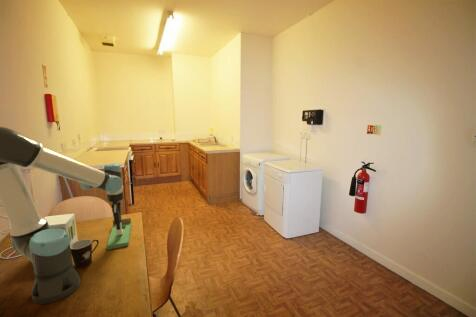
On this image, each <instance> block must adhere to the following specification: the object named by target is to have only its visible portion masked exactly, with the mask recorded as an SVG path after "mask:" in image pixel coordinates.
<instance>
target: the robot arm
mask: <svg viewBox="0 0 476 317" xmlns="http://www.w3.org/2000/svg"><path fill="white" fill-rule="evenodd" d="M20 167H23V168H29V167H32V168H36V169H39V170H41V171H44V172H47V173H51V174H52V175H53V174H54V175H56V176H60V177H63V178H66V179H68V180H72V181H75V182H78V185H79V187H80V188H81V189H82V190H84V191H86V190H91V189H97V190H99V191H105V192H106V194H107V196H106V197H107V202H110V203H111V208H112V209H111V210H112V216H113V220H114V224H115V225H116V234H117V235H120V234H122V225H121V222H122V221H123V220H121V219H122V210H121V209H122V207H121V206H122V203H121V201H123V200H124V192H123V190H124V188H125V187H124V186H123V184H124V183H123V180H122V169H121V168H122V167H121V165H120V163H119V164H118V163H108V164H104V166H103V169H101V170H100V169H98V168H96V167H93V166H91V165H88V164H85V163H83V162H80V161H77V160H75V159H73V158H70V157H68V156H66V155H63V154H60V153H58V152H55V151H54V150H51V149H49V148H45V147H43V144H42V143H41V142H39V141H37V140H34V139H32V138H30V137H28V136H26V135H23V134H22V133H20V132H18V131H17V130H16V131H15V130H14V129H11V128H8V127H4V126H0V204H1V205H2V208H3V210H4V213H5V214H6V216H7V219H8V221H9V223H10V224H11V226H12V229H11V230H10V232H9V235H10V237H11V244H12V247H13V250H14V251H15V252H16V253H17V254H19V255H21V256H23V257H25V258H26V259H28V260H29V261H30V262H31V263H32V267H33V273H34V281H33V286H32V289H31V298H32V301H33V302H34V303H35V304H39V305H40V304H41V305H42V304H43V305H45V304H50V303H54V302H58V301H60V300H62V299H64V298H66V297H68V296H70V295H71V294H72V293H74V292H75V291H76V290H77V289H78V288H79V286H80V285H81V278H80V277H81V276H80V275H79V273H78V271H77V269H76V267H75V266H74V265H73V257H72V254H71V248H70V238H69V236H68V233H67V232H66V231H65V230H63V229H59V228H57V229H55V228H52V229H50V227H49V224H48V222H47V220H46V219H45V217H41V216H40V213H39V211H38V208H37V206H36V204H35V201H34V199H33V197H32V194H31V192H30V190H29V188H28V185H27V183H26V180H25V178H24V175H23V173H22V171H21V168H20Z"/></svg>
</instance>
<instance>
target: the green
mask: <svg viewBox="0 0 476 317" xmlns="http://www.w3.org/2000/svg"><path fill="white" fill-rule="evenodd" d="M121 220H123V221H122V222H121V225H122V230H123V234H122V235H117V234H116V225H115V224H114V219H112V227H111V228H112V229H111V231H110V234H109V236H108V237H109V238H108V241H107V245H106V249H107V250H112V249H117V248H125V247H129V244H130V237H131V230H132V218H131V217H127V218H121Z"/></svg>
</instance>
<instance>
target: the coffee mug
mask: <svg viewBox="0 0 476 317" xmlns="http://www.w3.org/2000/svg"><path fill="white" fill-rule="evenodd" d="M94 242H97V243H96V244H95V247H94V248H93V243H94ZM98 246H99V240H97V239H94V240H92V239H89V238H86V239H80V240H79V239H78V241H76V242H74V243H72V244H71V245H70V248H71V256H72V262H73V263H74V268H75V269H76V268H77V269H82V268H86V267H88V266H89V265H91V264H92V262H93V261H92V258H93V256H92V255H93V252H95V250H96V249H97V247H98Z"/></svg>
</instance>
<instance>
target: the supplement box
mask: <svg viewBox="0 0 476 317" xmlns="http://www.w3.org/2000/svg"><path fill="white" fill-rule="evenodd" d="M44 218H45V219H46V220H47V222H48V224H49V227H50V229H52V228H55V229H57V228H59V229H63V230H65V231H66V232H67V233H68V236H69V238H70V245H71V244H72V243H74V242H76V241H79V239H78V237H79V236H78V231H77V223H76V215H75V213H65V214H57V215H50V216H49V215H48V216H47V215H46V216H45V217H44Z"/></svg>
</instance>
